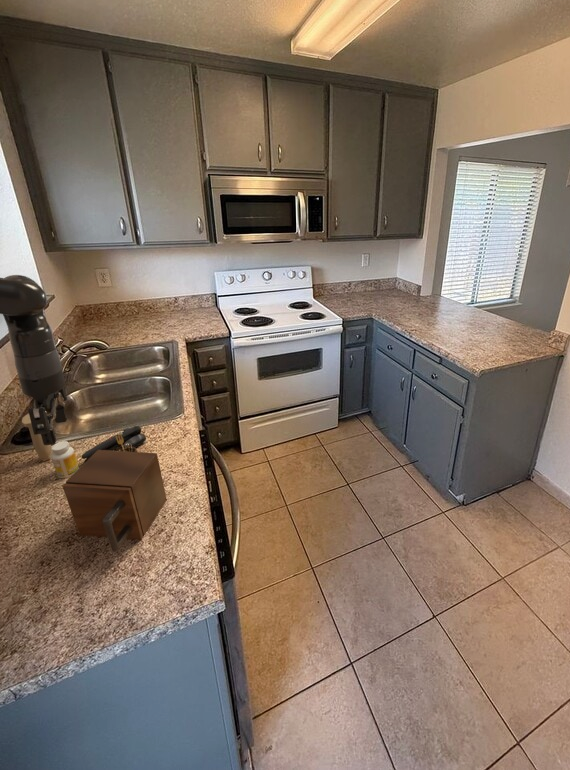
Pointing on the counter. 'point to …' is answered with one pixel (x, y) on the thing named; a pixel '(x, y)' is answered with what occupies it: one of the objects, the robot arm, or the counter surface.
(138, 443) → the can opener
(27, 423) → the handle
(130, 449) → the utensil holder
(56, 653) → the counter surface
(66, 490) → the cupboard door
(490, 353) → the counter surface
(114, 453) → the cupboard
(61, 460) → the supplement bottle
